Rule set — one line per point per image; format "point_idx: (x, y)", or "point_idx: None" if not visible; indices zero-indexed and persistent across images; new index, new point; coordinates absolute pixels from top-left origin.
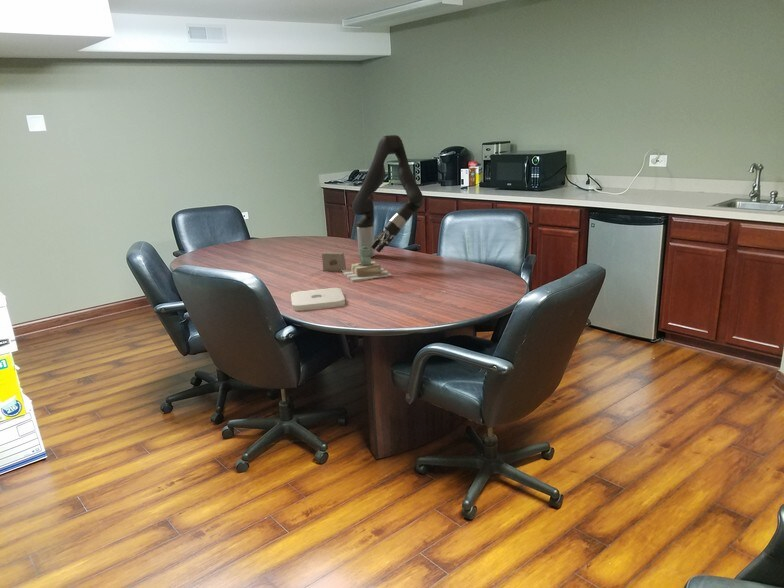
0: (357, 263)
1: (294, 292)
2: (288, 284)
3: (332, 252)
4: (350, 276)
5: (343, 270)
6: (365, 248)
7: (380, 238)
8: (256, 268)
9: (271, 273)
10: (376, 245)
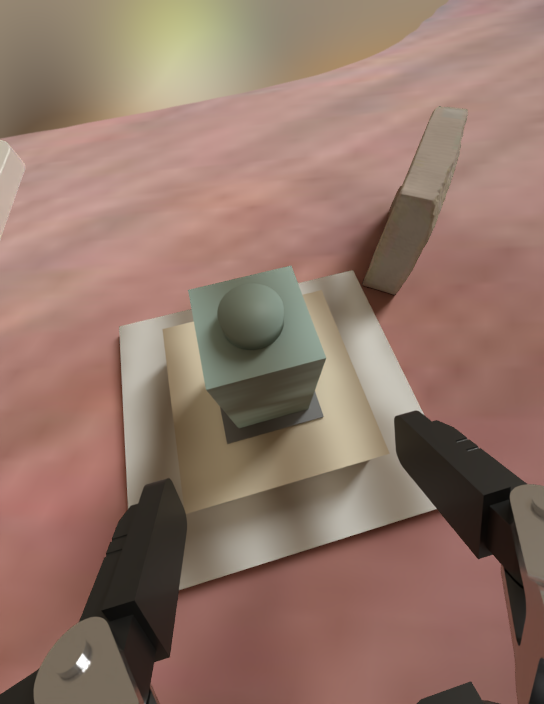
0: (318, 329)
1: (3, 144)
2: (200, 131)
3: (454, 147)
4: None
5: (346, 279)
6: (221, 328)
7: (465, 688)
8: (453, 43)
9: (374, 79)
10: (439, 499)
